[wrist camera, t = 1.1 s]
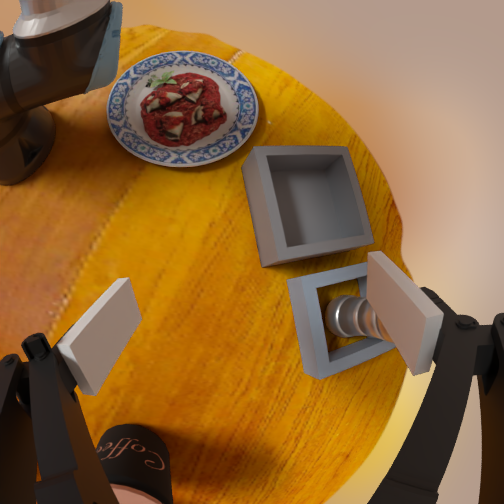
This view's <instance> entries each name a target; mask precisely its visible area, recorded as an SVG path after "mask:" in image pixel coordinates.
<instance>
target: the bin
mask: <svg viewBox="0 0 504 504" xmlns="http://www.w3.org/2000/svg"><path fill="white" fill-rule="evenodd" d="M241 169H242V173H243V178H244V183H245V188H246V193H247V198H248V203H249V207H250V212H251V217H252V222H253V227H254V232H255V237H256V242H257V247H258V252H259V257H260V261H261V266H262V267H266V266H272V265H277V264H283V263H288V262H294V261H299V260H304V259H309V258H315V257H320V256H325V255H330V254H336V253H341V252H346V251H350V250H354V249H357V248H360V247H363V246H366V245H370V244H373V243H374V239H373V235H372V231H371V227H370V223H369V219H368V215H367V211H366V207H365V204H364V200H363V197H362V193H361V189H360V186H359V183H358V179H357V176H356V173H355V169H354V166H353V163H352V160H351V157H350V154H349V151H348V148H347V147H343V146H254V147H253V149H252V150H251V152H250V154H249V155H248V157H247V159H246V160H245V162H244V164H243V165H242V167H241Z"/></svg>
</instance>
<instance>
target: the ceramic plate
mask: <svg viewBox="0 0 504 504" xmlns="http://www.w3.org/2000/svg"><path fill="white" fill-rule="evenodd" d="M258 112H259V108H258V100H257V96H256V93H255V91H254V89H253V87H252V85H251V84H250V82H249V81H248V79H247V78H246V77H245V76H244V75H243V74H242V73H241V72H240V71H239V70H238V69H237V68H235V67H234V66H233V65H231V64H230V63H228V62H226V61H224V60H222V59H220V58H218V57H215V56H213V55H209V54H205V53H200V52H194V51H173V52H166V53H161V54H157V55H154V56H151V57H149V58H146V59H144V60H142V61H140V62H138V63H137V64H135V65H133V66H132V67H130V68H129V69H128V70H127V71H126V72H125V73H124V74H123V75H122V76H121V77H120V78H119V79H118V80H117V82H116V83H115V85H114V86H113V88H112V90H111V92H110V95H109V98H108V102H107V120H108V124H109V126H110V129H111V131H112V133H113V135H114V136H115V138H116V139H117V141H118V142H119V143H120V144H121V145H122V146H123V147H124V148H125V149H126V150H128V151H129V152H130V153H132V154H133V155H135V156H137V157H139V158H141V159H143V160H145V161H148V162H151V163H154V164H158V165H163V166H169V167H194V166H199V165H205V164H208V163H212V162H215V161H217V160H220V159H222V158H224V157H226V156H228V155H230V154H231V153H233V152H234V151H236V150H237V149H238V148H240V147H241V146H242V145H243V144H244V143H245V142H246V140H247V139H248V138H249V137H250V135H251V134H252V132H253V130H254V128H255V126H256V123H257V119H258Z"/></svg>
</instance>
